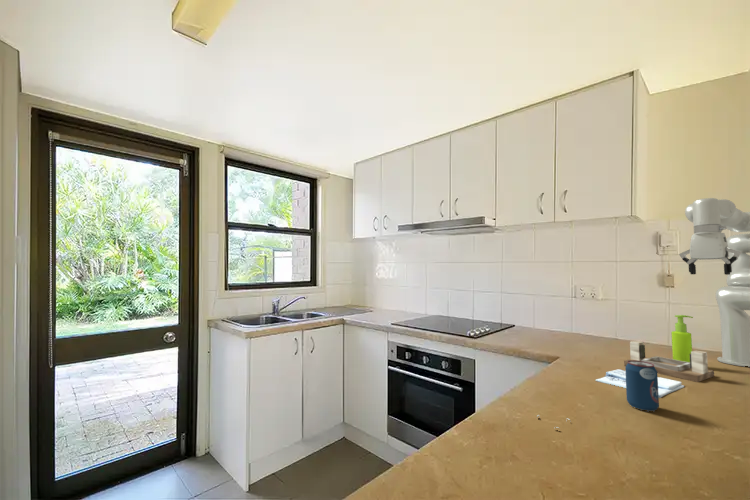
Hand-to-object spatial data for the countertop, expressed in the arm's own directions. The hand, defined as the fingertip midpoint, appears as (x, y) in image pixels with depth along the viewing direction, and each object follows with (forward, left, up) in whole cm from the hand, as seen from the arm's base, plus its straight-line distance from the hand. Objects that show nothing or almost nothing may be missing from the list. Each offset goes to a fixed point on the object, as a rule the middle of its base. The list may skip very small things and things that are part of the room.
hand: (709, 274), depth 128 cm
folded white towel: (+43, -7, -37) cm, 57 cm away
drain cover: (+96, -1, -37) cm, 103 cm away
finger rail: (+16, -9, -37) cm, 41 cm away
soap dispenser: (+1, -9, -37) cm, 38 cm away
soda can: (+65, +4, -37) cm, 75 cm away
